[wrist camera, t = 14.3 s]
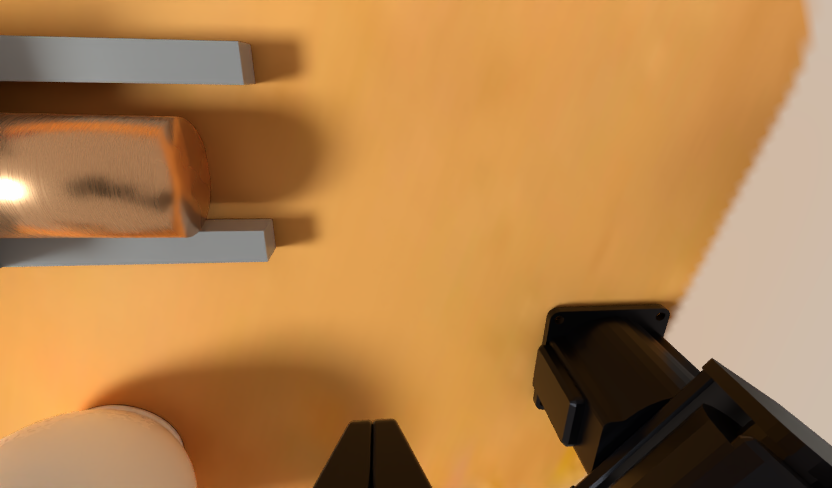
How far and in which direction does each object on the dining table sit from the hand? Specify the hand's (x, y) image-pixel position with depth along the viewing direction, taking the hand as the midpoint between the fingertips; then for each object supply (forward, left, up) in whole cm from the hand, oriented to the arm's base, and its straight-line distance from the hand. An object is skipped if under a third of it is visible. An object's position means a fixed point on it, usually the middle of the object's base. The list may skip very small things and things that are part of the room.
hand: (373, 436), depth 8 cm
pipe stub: (+11, -1, -12) cm, 16 cm away
